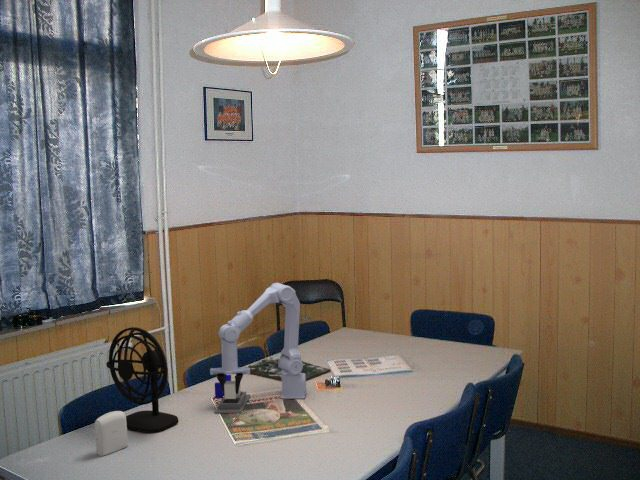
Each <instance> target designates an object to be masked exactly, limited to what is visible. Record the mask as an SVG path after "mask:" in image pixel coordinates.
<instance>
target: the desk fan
mask: <svg viewBox="0 0 640 480" xmlns="http://www.w3.org/2000/svg"><path fill="white" fill-rule="evenodd" d="M128 331H129V332H128ZM126 332H128V334H126V335H124V336H123V334H124V333H126ZM140 336H141V337H142V338H141V337H140ZM131 338H132V339H135V340H137V341H138V342H136V343H135V344H134V345H133V347H131V346H129V343H130V340H131ZM147 339H148V340H149V341H150V342H149V341H148V340H147ZM119 343H120V345H119V348H118V349H117V350H116V351H115V349H116V347H117V345H118V344H119ZM140 344H141V345H143V346H145V350H146V352H144V353H143V354H142V355H141V354H140V352H139V351H138V350H137V349H135V348H136V347H137V346H138V345H140ZM152 348H153V349H152ZM123 349H124V356H123V359H122V351H123ZM128 349H129V350H130V354H129V359H128ZM114 352H115V353H114ZM133 353H135V354H136V355H137V356H138V358H139V359H133ZM116 357H117V359H116ZM134 363H135V364H141V365H142V368H143V371H139V370H138V371H136V370H135V367H134V365H133V364H134ZM105 364H106V367H107V368H108V369H109V373H110V375H111V378H112V381H113V384H114V385H115V386H116V388H117V390H118V391H119V392H120V394H121V395H122V396H123V397H125V398H126V399H127V400H128V401H130V402H131V403H134V404H135V405H149V404H151V408H152V409H151V410H139V411H135V412H132V413H130V414H128V415H126V423H127V429H130V430H134V431H138V432H143V433H155V432H160V431H164V430H166V429H168V428H170V427H172V426H174V425H176V424H177V423H179V417H178V416H177V415H175V414H172V413H166V412H163V411H159V409H160V408H159V407H160V405H159V398H160V397H161V396H162V395H163V393H164V391H165V389H166V386H167V383H168V376H169V375H168V373H169V370H168V369H169V368H168V363H167V360H166V355H165V352H164V350H163V348H162V346H161V345H160V343H159V342H158V340H157V339H156V338H155V337H154V335H153V334H151V333H150V332H148V331H147V330H145V329H143V328H140V327H134V326H133V327H128V328H125V329H122V330H120V331H119V332H118V333H117V334H116V335H115V336H114V338H113V339H112V341H111V344H110V346H109V351H108V361H107V362H106V363H105ZM116 364H117V367H116V366H115V365H116ZM159 370H160V371H159ZM117 373H118V375H117ZM133 375H134V376H135V378H136V379H137V380H138V381H139V382H141V383H140V385H139V386H138V387H137V388H134V387H133V386H132V385H131V384H130V383H129V381H130V380H131V379H132V378H133ZM139 375H141V376H143V378H141V377H139ZM118 376H119V377H120V378H121V379H122V380H123V383H124V384H125V385H124V384H123V383H122V382H121V381H120V379H119V377H118ZM146 377H147V379H146ZM161 377H162V379H161ZM160 379H161V382H160V384H159V385H158V382H159V381H160ZM144 385H146V386H145V390H144V392H141V391H139V390H140V389H141V388H142V387H143V386H144ZM149 388H150V391H149ZM132 392H133V393H134V394H136V395H138V396H135V395H132ZM150 396H151V399H150V400H146V398H148V397H150ZM145 400H146V401H145Z"/></svg>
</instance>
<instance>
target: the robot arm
mask: <svg viewBox="0 0 640 480" xmlns="http://www.w3.org/2000/svg"><path fill="white" fill-rule="evenodd" d="M278 303H280V304H281V305H282V306H283V307H284V308H285V313H284V314H285V319H284V341H283V349H282V350H280V357H279V358H278V359H279V361H278V364H279V367H280V368H281V369H282V372H281V374H282V381H281V394H280V397H279V399H280V398H282V399H281V400H283V399H285V400H286V399H289V400H290V399H294V400H296V399H298V400H299V399H301V400H302V399H306V396H307V381H306V374H305V373H300V372H301V371H302V369H303V363H302V361H303V360H302V354H301V352H300V351H299V338H300V337H299V336H300V335H299V333H300V332H299V330H300V315H301V314H300V311H301V303H300V300H299V299H298V296H297V294H296V290H295V289H294V288H292V286H290V285H285V284H282V283H280V282H274V283H272V284H271V285H270V286H269V287H267V288H266V289H265V290H264V291H263V293H262V294H261V295H260V296H259V297H258V298H257V299H256V300H255V302H253V303H252V304H251V305H250V307H248V308H247V310H246V309H244V310H243V309H242V310H241V311H240V310H239V311H237V312H236V315H235V316H234V317H233V318H232V319H231V320H228V321H227V323H226V324H223V325H221V326H220V328H219V331H218V332H217V334H218V336H219V338H220V340H221V341H220V342H221V344H220V345H221V347H220V348H221V349H220V350H221V367H214V368H213V367H211V368H210V369H209V374H210V375H211V376H213V375H216V379H217V381H218V382H220V384H221V387H222V390H223V394H225V393H224V384H225V382H226V375H235V376H234V381H235V383H236V394H238V393H239V386H240V387H241V381H242V379H243V376H244V375H248V376H249V375H251V374H250V368H244V367H241V366H240V367H239V365H238V364H239V363H238V362H239V361H238V360H239V359H238V339H239V338H240V334H241V333H242V332H243V331H244V330H246V328H247V327H248V326H250V325H251V324H252V323H253V321H254V317H255V316H256V315H257V314H258V313H260V312H262V310H263V309H264V308H266V307H267V306H268V305H270V304H278ZM301 360H302V361H301Z"/></svg>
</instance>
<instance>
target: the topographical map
mask: <svg viewBox="0 0 640 480" xmlns="http://www.w3.org/2000/svg"><path fill="white" fill-rule="evenodd" d="M278 361H279V358H273V357H270V358H265V359H261V361H258V362H257V363H254V364H253V365H248V366H246V367H243V368H250V374H249V375H252V376H256V377H260V378H265V379H269V380H274V381H278V382H282V374H281V372H282V369H281V368H280V367H279V364H278ZM301 361H302V363H303V369H302V371H301V372H300V373H305V374H306V382H307V381H310V380H313V379H316V378H318V377H320V376H323V375H326V374H328V373H331V372H332V370H331V368H326V367H323V366H319V365H315V364H313V363H309V362H305V361H303V360H302V359H301Z"/></svg>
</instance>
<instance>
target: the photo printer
mask: <svg viewBox="0 0 640 480" xmlns="http://www.w3.org/2000/svg"><path fill="white" fill-rule="evenodd" d="M126 416H127V415H126V414H125V411H122V410H114V411H109V412H107V413H104V414H103V415H101V416H99V417H98V418H97V419H96V420H94V432H95V443H96V444H95V446H96V447H95V448H96V453H97V455H98V457H103V456H107V455H109V454H112V453H114V452H118V451H120V450H123V449H125V448H127V447H128V446H129V442H128V428H127V423H126Z"/></svg>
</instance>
